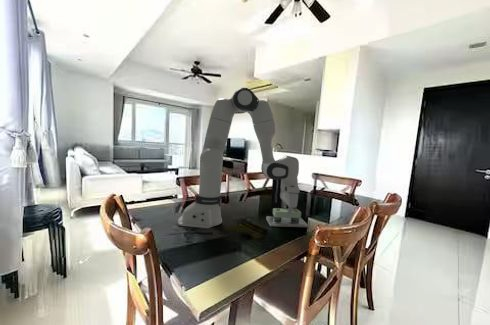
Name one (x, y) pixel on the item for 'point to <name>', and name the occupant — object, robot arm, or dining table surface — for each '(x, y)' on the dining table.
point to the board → (284, 214)
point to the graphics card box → (276, 195)
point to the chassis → (286, 221)
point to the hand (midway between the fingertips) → (286, 210)
